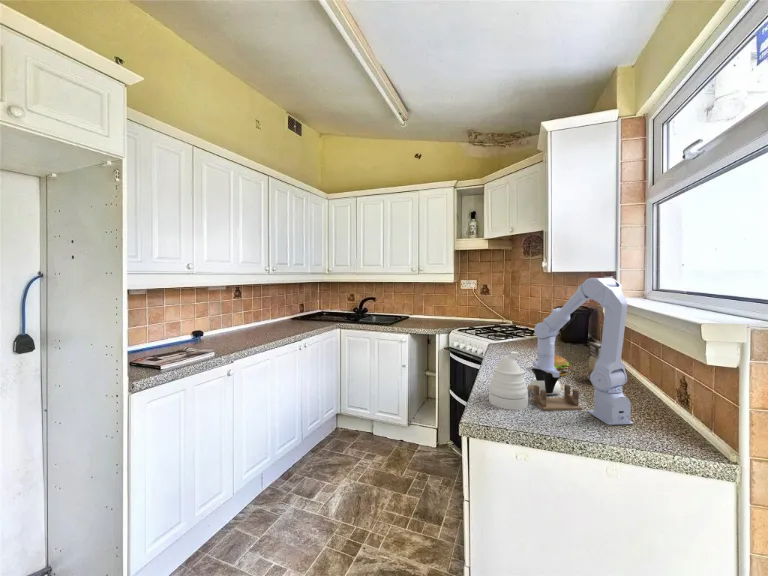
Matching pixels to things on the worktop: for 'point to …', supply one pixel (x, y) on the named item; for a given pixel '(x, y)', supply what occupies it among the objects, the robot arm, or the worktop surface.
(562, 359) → the food
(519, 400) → the honey pot
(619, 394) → the robot arm
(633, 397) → the worktop surface
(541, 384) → the paper roll
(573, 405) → the holder
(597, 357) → the coffee box
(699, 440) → the worktop surface
